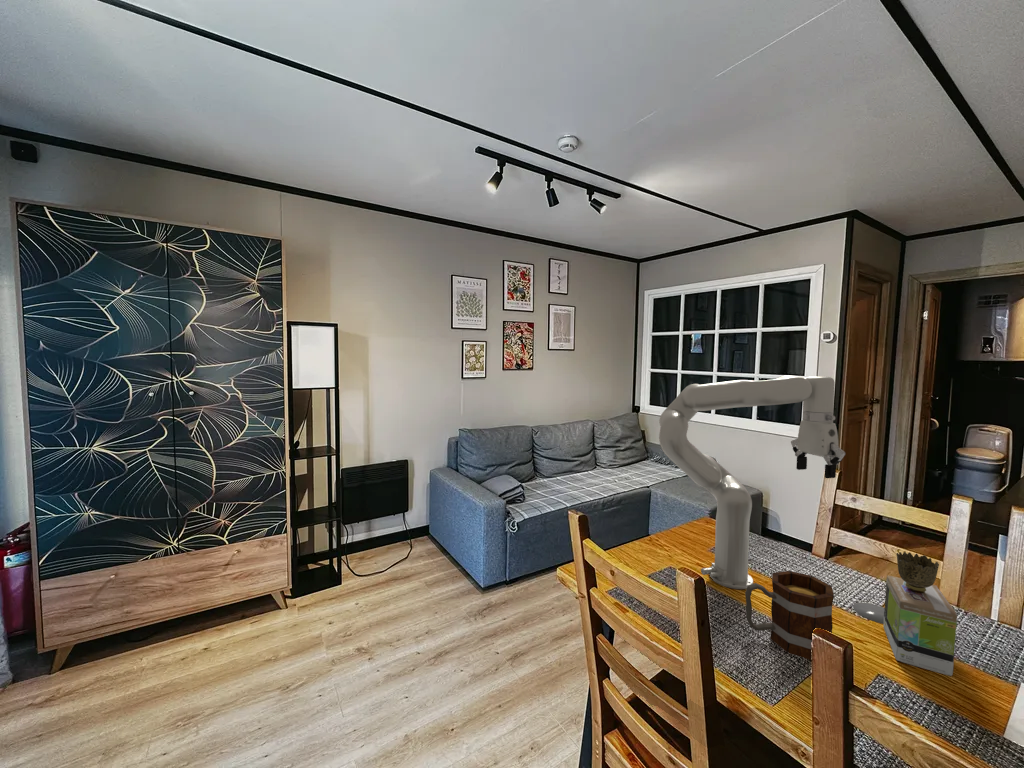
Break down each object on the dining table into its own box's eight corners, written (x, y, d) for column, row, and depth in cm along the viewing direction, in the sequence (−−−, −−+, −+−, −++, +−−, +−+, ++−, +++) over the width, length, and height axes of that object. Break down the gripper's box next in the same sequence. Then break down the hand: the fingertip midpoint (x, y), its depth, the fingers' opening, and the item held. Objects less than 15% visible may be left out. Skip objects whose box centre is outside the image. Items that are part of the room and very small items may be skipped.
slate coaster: (879, 628, 112) (880, 625, 112) (843, 606, 122) (843, 604, 122) (910, 623, 114) (910, 621, 114) (872, 602, 124) (872, 600, 124)
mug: (815, 628, 112) (817, 572, 111) (846, 664, 99) (848, 601, 98) (735, 620, 115) (736, 566, 114) (754, 654, 102) (756, 594, 101)
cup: (945, 600, 99) (947, 567, 98) (908, 597, 100) (910, 564, 100) (921, 584, 106) (923, 552, 106) (887, 581, 107) (889, 550, 107)
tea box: (955, 678, 94) (959, 614, 93) (895, 661, 100) (898, 600, 99) (934, 640, 107) (937, 583, 106) (882, 627, 112) (884, 573, 111)
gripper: (856, 421, 120) (853, 480, 121) (803, 413, 137) (801, 465, 138) (833, 421, 118) (831, 482, 119) (783, 414, 135) (781, 467, 136)
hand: (815, 473), depth 129 cm, fingers open, 9 cm apart
